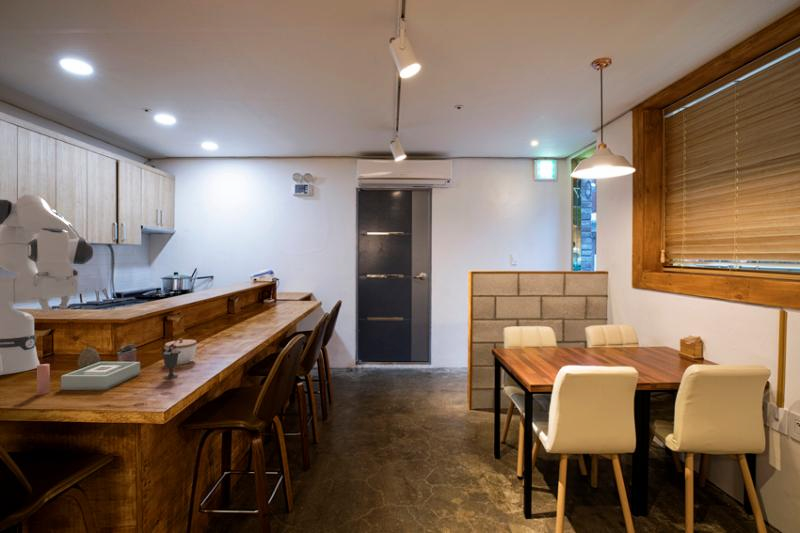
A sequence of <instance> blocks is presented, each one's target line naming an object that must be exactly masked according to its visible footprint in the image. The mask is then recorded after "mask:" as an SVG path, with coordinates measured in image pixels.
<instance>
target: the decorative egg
mask: <svg viewBox="0 0 800 533" xmlns="http://www.w3.org/2000/svg"><path fill="white" fill-rule="evenodd" d="M82 350H83V351H81V353H80V354H79V355H78V358H77V366H78V367H79V369H82V368H85V367H87V366H90V365H93V364H96V363H98V362H101V358H100V354H99V353H98V351H97V350H96V349H94V348H93V347H91V346H90V347H89V346H88V347H86V348H84V349H82Z"/></svg>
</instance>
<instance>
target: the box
mask: <svg viewBox="0 0 800 533" xmlns="http://www.w3.org/2000/svg"><path fill="white" fill-rule="evenodd" d="M140 374H141V362H140V361H136V362H118V361H100V362H98V363H96V364H93V365H90V366H87V367H85V368H82V369H81V368H79V369H77V370H74V371H71V372H69V373H66V374H63V375H61V376H60V390H61V391H62V390H63V391H65V390H66V391H69V390H71V391H72V390H73V391H78V390H80V391H81V390H82V391H83V390H84V391H88V390H89V391H90V390H91V391H93V390H94V391H99V390H101V391H105V390H106V391H107V390H109V389H111V388H114V387H116V386H117V385H119V384H122V383H123V382H125V381H128V380H130V379H132V378H134V377H136V376H139V375H140Z"/></svg>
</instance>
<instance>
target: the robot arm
mask: <svg viewBox="0 0 800 533" xmlns="http://www.w3.org/2000/svg"><path fill="white" fill-rule="evenodd" d="M1 225H2V226H3V225H4V227H2V229H1V231H0V268H1V269H2V270H4V271H7V272H10V273H13V274H16V275H17V276H16V277H0V376H2V375H10V374H16V373H22V372H26V371H30V370H34V369H37V366H38V365H41V363H40V360H39V358H38V353H37V347H36V342H37V337H36V336H37V335H36V333H35V317H34V316H33V314H31V313H28V312H26V311H22V310H18V309H16V308H15V307H14V306H13V305H16V304H31V303H33V304H34V303H38V304H39V305H40V306H41V307H40V308H41V312H50V311H51V310H52V309H51V307H52V306H51V305H49V302H50V301H51V300H53V299H54V298H56V299H57V298H60V300H61V302H60V303H59V306H58V307H59V309H60V310H61V309H64V310H65V309H68V303H69V301H70V299H71V298H70V297H71V296H76V295H77V293H78V285H79V283H78V282H79V279H78V276H79V275H80V274H79V270H77V269H75V268H73V267H72V264H73V265H85V264H87V263H88V262H90V261H91V260H92V258H93V255H94V248H93V246H92V244H91V243H90V241H88V240H87V239H86V238H84V237H83V236H82V235H81V234H80V233H79V231H78V230H77V229H76V228H75V227H74V226H73V225H72V223H71V222H70V221H69V220H66V219H64V218H62V217H60V216H59V215H58V212H57V210H55V209H53V208H52V207H51V206H50V204H49V203H48V202H47V201H46V200H45V199H44V198H42V197H41V196H39V195H35V194H25V195H22V196H20V197H18V199H17V200H16V201H15V200H14V201H13V200H8V199H0V226H1ZM35 234H38V236H37V237H38V238H34V237H35ZM36 263H37V264H36Z"/></svg>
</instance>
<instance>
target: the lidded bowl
mask: <svg viewBox="0 0 800 533" xmlns="http://www.w3.org/2000/svg"><path fill="white" fill-rule="evenodd" d="M197 343H198V342H197V340H196V339H183V338H182V337H181V338H179V339H177V341H176V340H173V341H172V340H171V341H169V342H166V343H164V348H165V349H166V348H167V347H168V346H171V344H174V346H177V347H176V348H177V349H178V350H179V351H180V353H179V355H178V360H177V365H183V364H184V365H185V364H187V363H190V362H191V360H192V359H193V358H194V357H195V356H196V352H197Z"/></svg>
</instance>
